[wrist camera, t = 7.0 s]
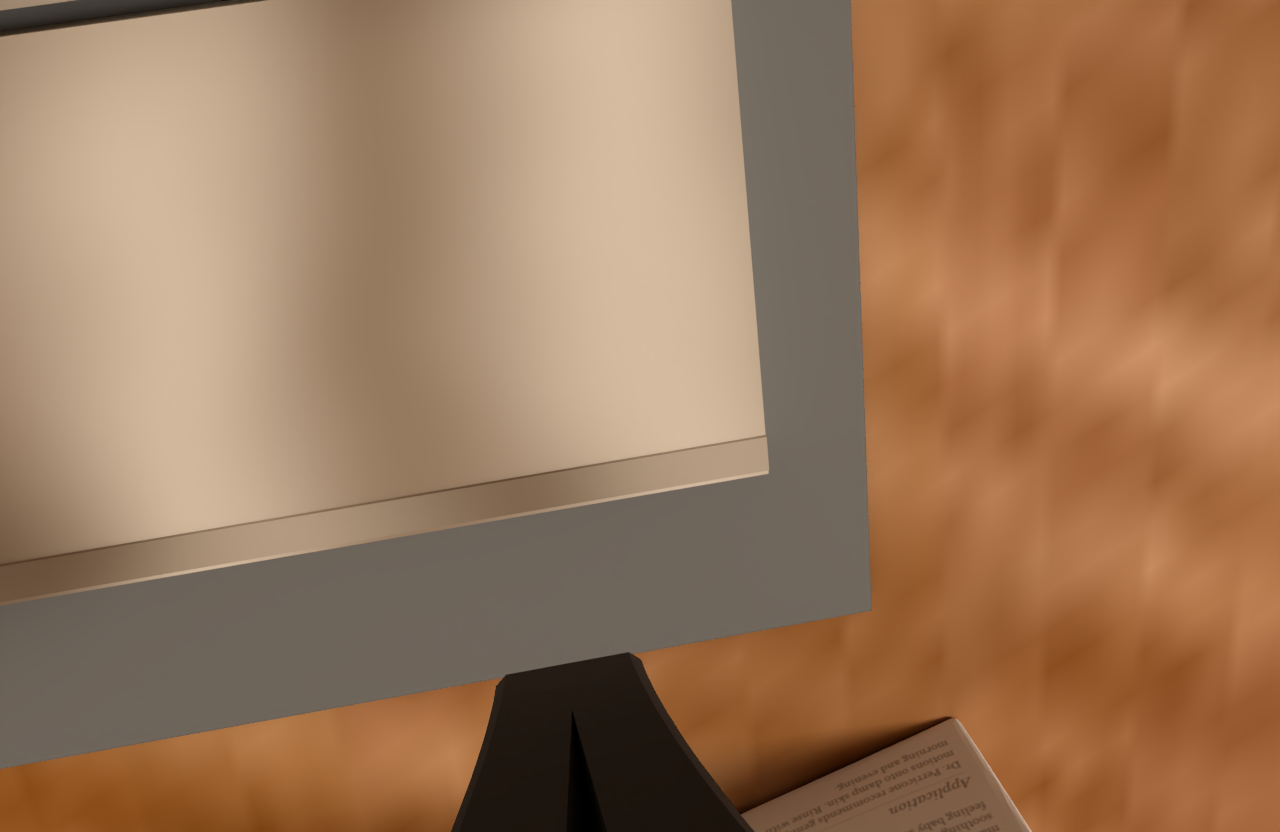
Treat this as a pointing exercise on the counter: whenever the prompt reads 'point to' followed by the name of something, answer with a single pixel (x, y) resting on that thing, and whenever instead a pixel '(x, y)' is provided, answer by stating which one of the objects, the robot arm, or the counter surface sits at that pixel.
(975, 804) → the skincare box
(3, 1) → the laid plank
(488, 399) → the loose plank
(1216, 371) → the counter surface
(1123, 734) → the counter surface
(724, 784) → the counter surface
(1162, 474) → the counter surface
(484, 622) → the underlay mat
